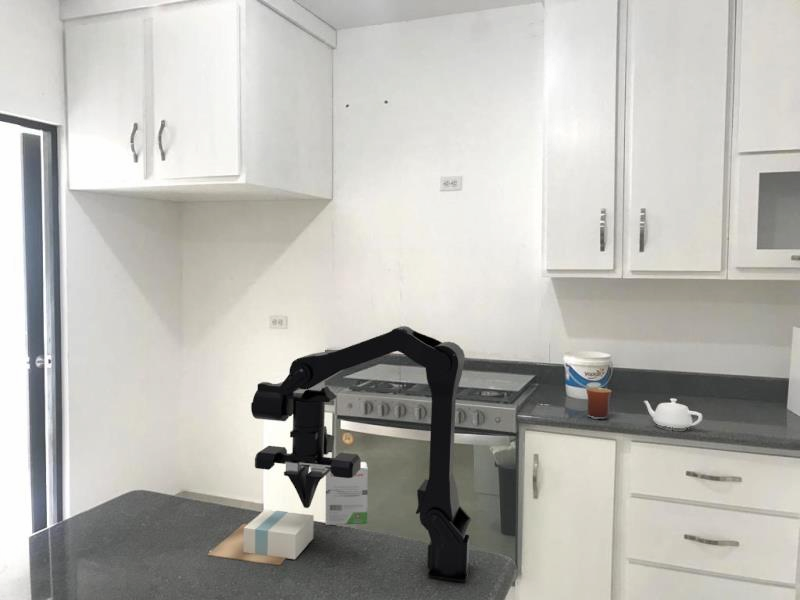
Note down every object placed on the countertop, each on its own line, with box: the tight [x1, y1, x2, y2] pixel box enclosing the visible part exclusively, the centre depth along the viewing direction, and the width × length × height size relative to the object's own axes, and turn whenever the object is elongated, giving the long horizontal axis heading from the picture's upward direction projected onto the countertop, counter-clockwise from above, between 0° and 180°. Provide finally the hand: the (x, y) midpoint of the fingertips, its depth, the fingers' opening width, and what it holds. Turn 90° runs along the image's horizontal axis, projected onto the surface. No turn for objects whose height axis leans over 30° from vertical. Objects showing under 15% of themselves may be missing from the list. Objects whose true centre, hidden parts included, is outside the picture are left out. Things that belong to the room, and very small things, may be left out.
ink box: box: [325, 461, 369, 526], centre depth 130 cm, size 9×5×12 cm, turn 96°
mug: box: [585, 387, 613, 417], centre depth 228 cm, size 12×9×10 cm
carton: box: [243, 509, 315, 560], centre depth 117 cm, size 5×9×10 cm
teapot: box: [643, 397, 703, 428], centre depth 215 cm, size 20×12×10 cm, turn 44°
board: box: [206, 523, 287, 567], centre depth 118 cm, size 14×14×1 cm
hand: (307, 507), depth 116 cm, fingers closed
